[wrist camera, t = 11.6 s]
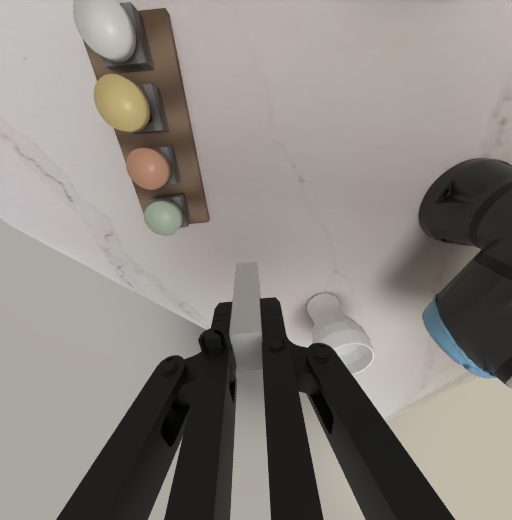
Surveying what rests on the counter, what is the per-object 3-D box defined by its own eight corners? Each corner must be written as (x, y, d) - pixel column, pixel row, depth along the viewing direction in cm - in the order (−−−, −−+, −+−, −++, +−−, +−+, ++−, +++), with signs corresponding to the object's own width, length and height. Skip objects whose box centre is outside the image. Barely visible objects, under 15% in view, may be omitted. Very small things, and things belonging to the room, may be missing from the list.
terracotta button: (138, 148, 32) (119, 150, 27) (172, 145, 32) (160, 146, 27) (149, 184, 35) (134, 191, 30) (181, 181, 35) (171, 187, 30)
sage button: (153, 195, 35) (139, 204, 31) (183, 193, 35) (174, 200, 31) (162, 225, 38) (150, 237, 33) (191, 222, 38) (183, 233, 33)
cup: (297, 321, 54) (314, 379, 41) (303, 287, 49) (325, 341, 36) (338, 321, 55) (368, 378, 41) (348, 287, 49) (386, 340, 36)
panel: (83, 23, 27) (55, 2, 23) (169, 14, 27) (156, -8, 23) (151, 224, 40) (141, 233, 36) (209, 219, 40) (205, 227, 36)
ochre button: (112, 87, 27) (85, 76, 22) (153, 83, 27) (134, 71, 22) (128, 134, 30) (106, 133, 25) (165, 131, 30) (150, 129, 25)
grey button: (96, 16, 25) (62, -13, 21) (140, 11, 25) (116, -18, 21) (114, 73, 28) (88, 59, 23) (153, 69, 28) (135, 54, 23)
